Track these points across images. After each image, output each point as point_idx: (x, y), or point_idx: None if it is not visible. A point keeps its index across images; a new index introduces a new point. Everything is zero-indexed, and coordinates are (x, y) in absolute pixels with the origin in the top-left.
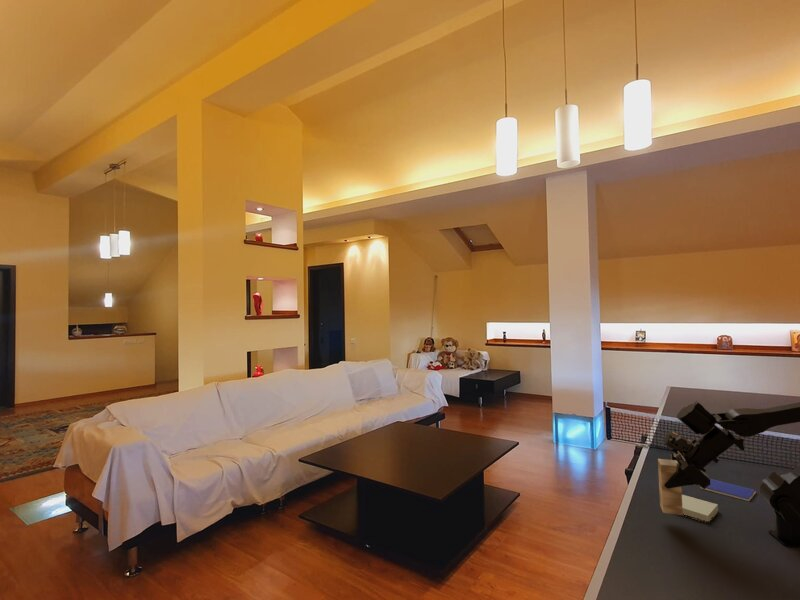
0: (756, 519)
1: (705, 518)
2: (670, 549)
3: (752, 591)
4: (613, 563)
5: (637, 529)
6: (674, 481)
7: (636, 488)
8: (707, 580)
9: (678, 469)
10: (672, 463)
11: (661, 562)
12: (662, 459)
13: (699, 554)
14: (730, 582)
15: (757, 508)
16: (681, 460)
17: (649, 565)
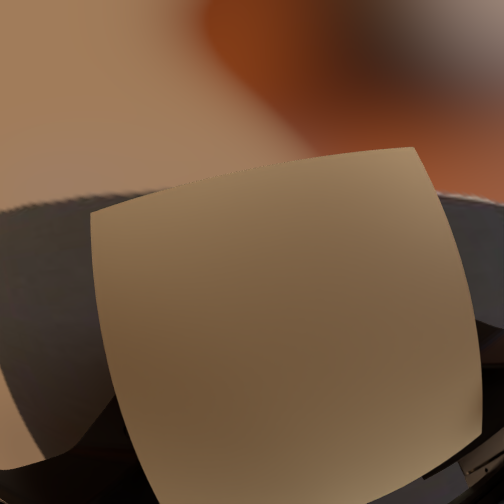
0: (407, 496)
1: None
2: (93, 324)
3: (43, 451)
4: (18, 212)
5: None
6: None
7: (452, 201)
8: (27, 384)
9: (25, 468)
10: (284, 441)
11: (38, 300)
12: (434, 220)
13: (106, 395)
14: (44, 426)
15: (460, 476)
16: (497, 458)
17: (24, 276)
